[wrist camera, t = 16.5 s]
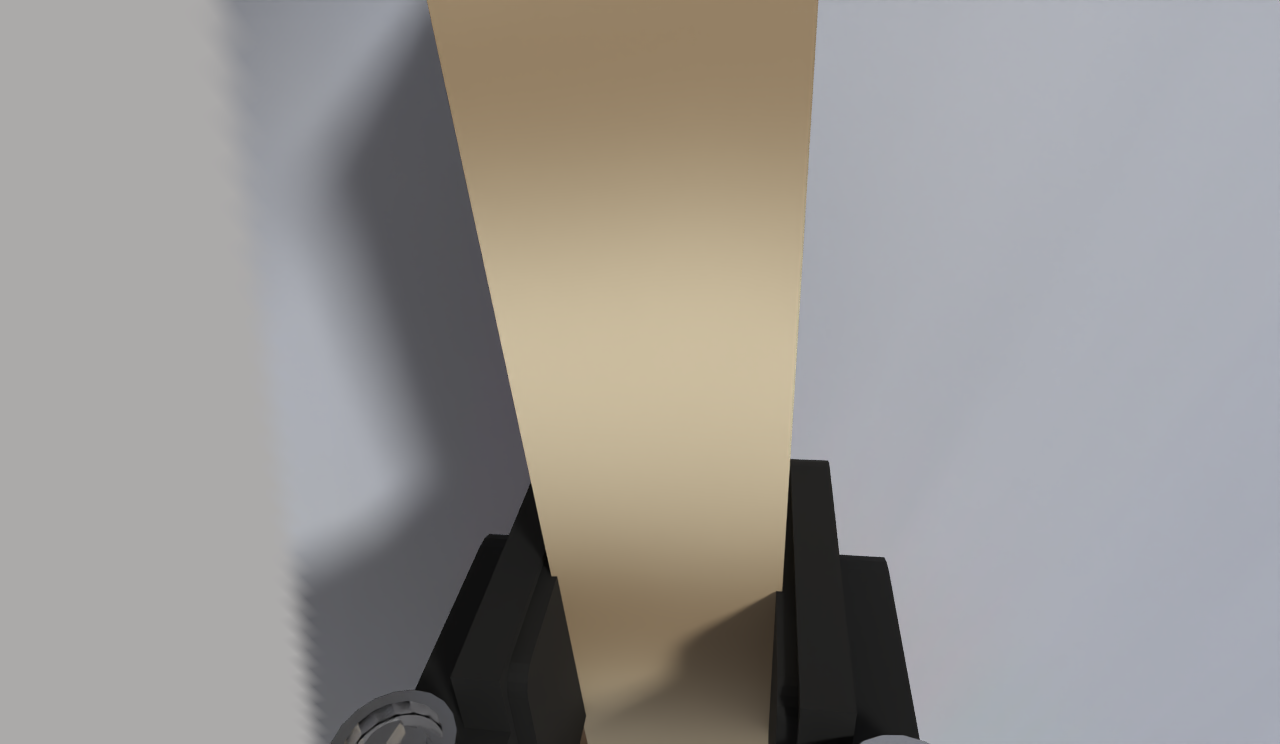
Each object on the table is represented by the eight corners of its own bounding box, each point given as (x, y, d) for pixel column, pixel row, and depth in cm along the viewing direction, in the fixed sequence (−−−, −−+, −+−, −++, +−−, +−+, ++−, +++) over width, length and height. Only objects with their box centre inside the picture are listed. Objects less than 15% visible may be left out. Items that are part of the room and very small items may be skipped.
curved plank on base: (299, -253, 7) (-266, -325, 3) (1086, -340, 6) (1648, -600, 2) (566, 775, 19) (513, 1030, 15) (854, 806, 18) (878, 1089, 14)
